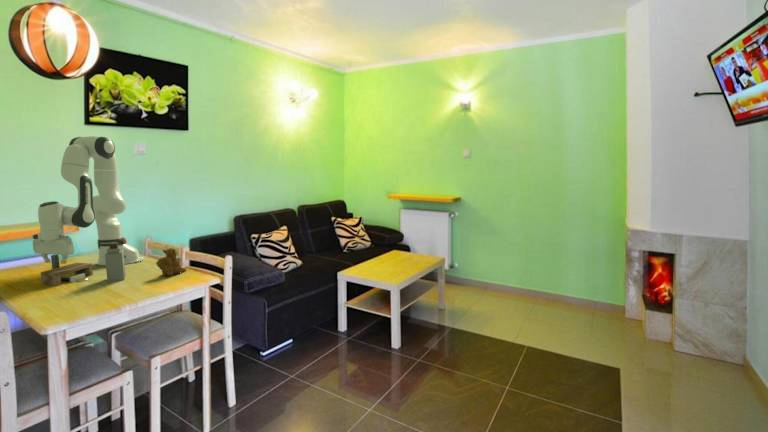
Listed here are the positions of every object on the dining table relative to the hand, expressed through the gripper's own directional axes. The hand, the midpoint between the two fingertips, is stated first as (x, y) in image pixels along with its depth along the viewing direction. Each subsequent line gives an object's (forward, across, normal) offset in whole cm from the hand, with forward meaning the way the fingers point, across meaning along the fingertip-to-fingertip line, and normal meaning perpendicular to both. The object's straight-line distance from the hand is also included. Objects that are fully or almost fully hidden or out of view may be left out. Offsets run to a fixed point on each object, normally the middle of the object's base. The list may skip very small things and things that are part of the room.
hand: (55, 262), depth 192 cm
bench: (+8, -6, 0) cm, 10 cm away
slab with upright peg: (+8, -5, 0) cm, 10 cm away
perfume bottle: (+8, -29, -5) cm, 31 cm away
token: (+8, -15, 0) cm, 17 cm away
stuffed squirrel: (+8, -49, -18) cm, 53 cm away
